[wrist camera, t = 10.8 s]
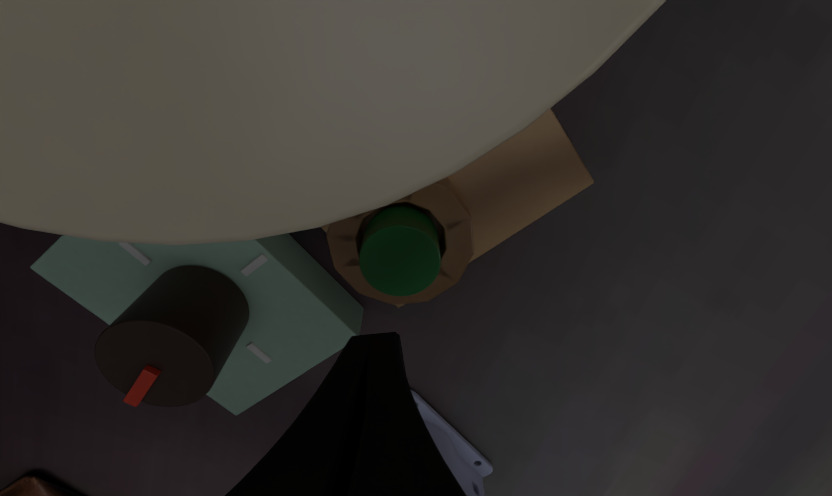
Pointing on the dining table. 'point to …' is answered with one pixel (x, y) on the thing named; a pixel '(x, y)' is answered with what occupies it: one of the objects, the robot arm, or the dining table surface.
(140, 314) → the dimmer knob
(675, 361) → the dining table surface
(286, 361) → the dimmer panel
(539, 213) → the lamp base
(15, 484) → the sunglasses case
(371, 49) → the lamp
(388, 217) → the lamp switch
